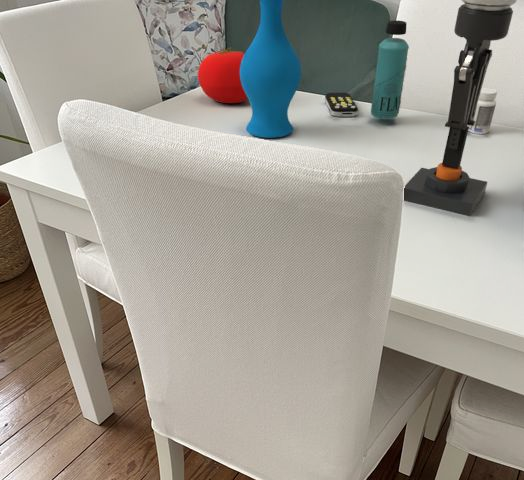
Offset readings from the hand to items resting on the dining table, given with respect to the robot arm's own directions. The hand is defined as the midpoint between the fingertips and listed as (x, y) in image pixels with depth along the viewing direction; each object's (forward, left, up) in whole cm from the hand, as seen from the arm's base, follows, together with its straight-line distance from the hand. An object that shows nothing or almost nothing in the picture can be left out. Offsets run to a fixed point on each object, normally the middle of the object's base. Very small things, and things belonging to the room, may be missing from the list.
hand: (450, 165), depth 96 cm
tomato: (+61, -25, -6) cm, 66 cm away
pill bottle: (+3, -36, -6) cm, 37 cm away
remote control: (+35, -34, -6) cm, 49 cm away
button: (0, 0, -2) cm, 2 cm away
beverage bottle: (+23, -31, -6) cm, 39 cm away
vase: (+42, -12, -6) cm, 44 cm away
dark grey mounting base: (0, 0, -6) cm, 6 cm away
